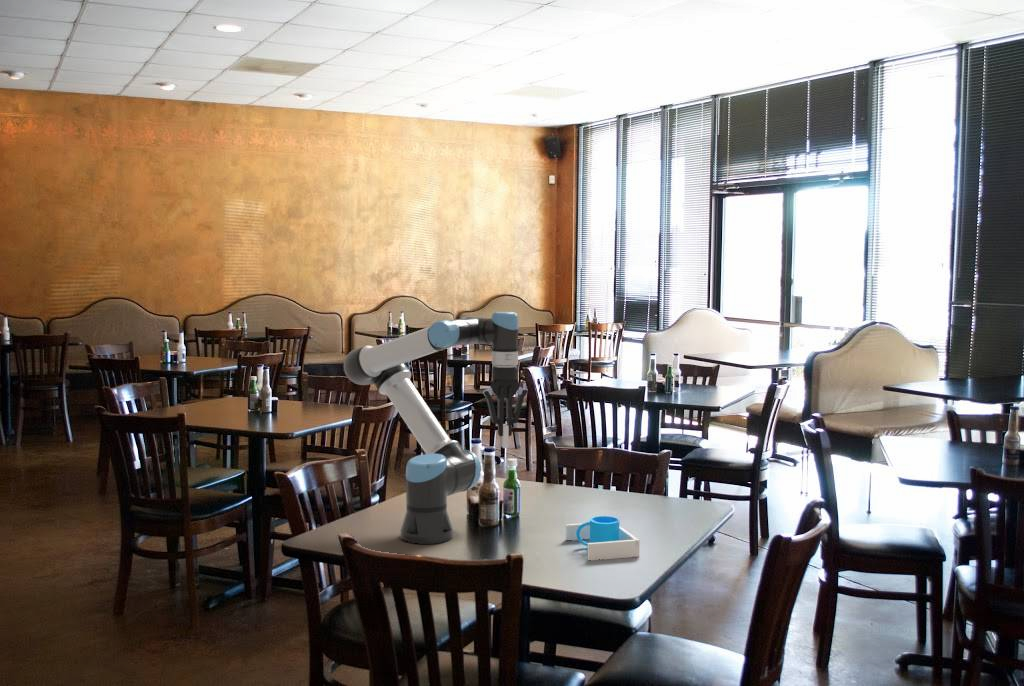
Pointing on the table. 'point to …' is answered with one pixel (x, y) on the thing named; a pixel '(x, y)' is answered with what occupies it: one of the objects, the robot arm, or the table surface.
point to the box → (606, 544)
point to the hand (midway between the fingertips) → (504, 447)
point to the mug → (601, 529)
